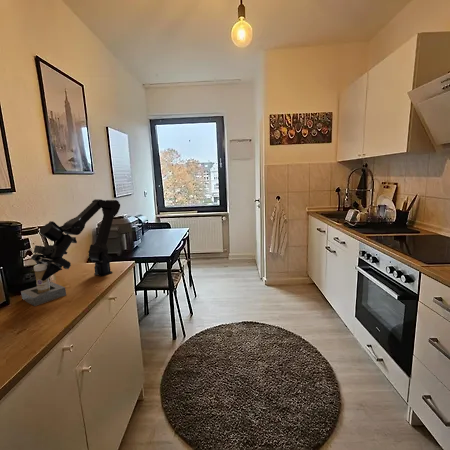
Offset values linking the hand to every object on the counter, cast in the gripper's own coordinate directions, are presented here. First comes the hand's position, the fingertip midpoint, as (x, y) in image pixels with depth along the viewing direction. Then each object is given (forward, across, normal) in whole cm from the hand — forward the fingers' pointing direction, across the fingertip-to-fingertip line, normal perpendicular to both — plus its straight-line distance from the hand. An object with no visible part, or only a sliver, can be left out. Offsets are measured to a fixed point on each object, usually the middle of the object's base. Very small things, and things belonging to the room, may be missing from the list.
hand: (38, 279), depth 116 cm
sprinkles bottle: (+5, 0, +6) cm, 8 cm away
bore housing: (+5, 0, +7) cm, 8 cm away
